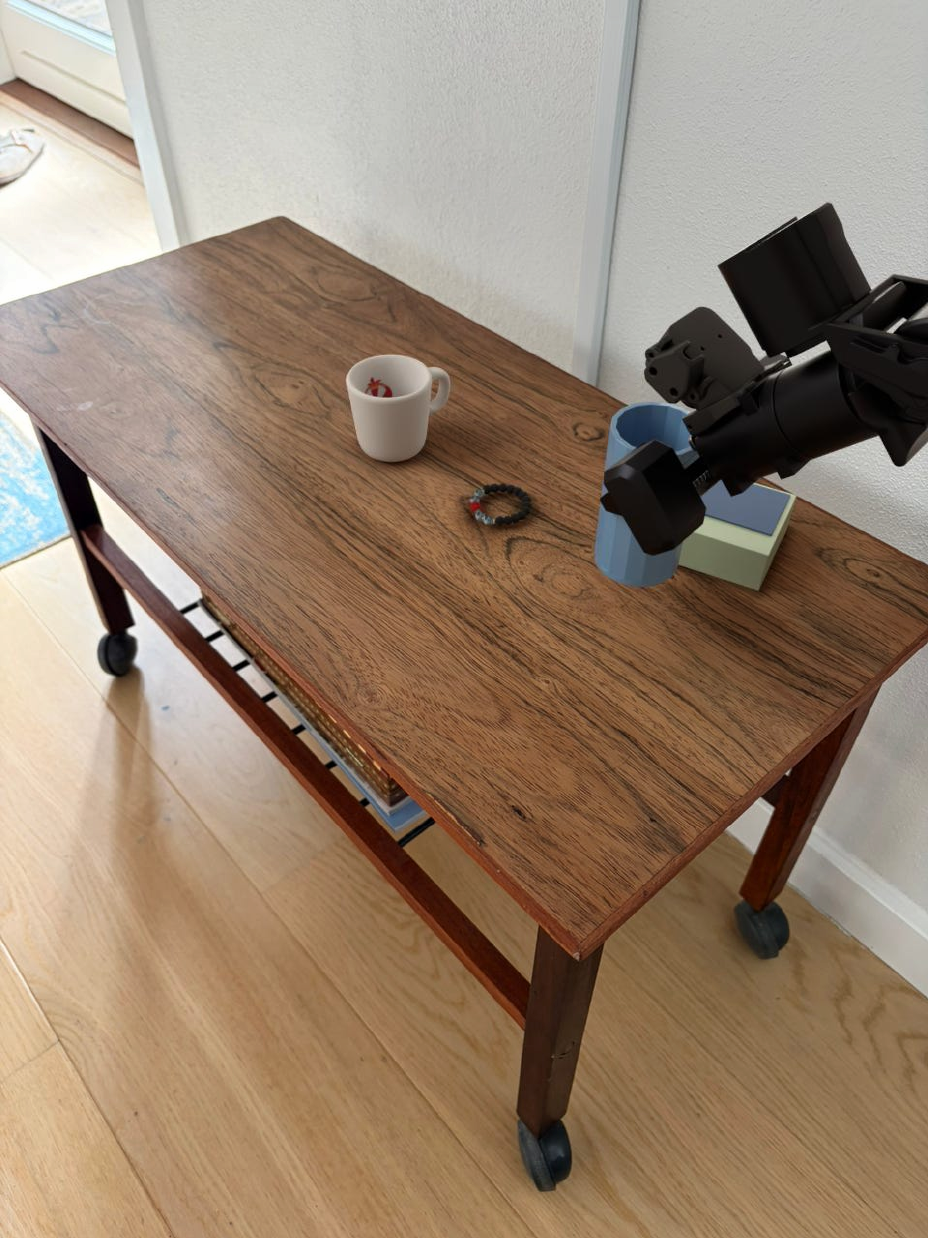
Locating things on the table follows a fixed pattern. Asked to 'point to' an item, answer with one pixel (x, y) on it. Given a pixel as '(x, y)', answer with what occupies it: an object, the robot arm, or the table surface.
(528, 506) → the bracelet
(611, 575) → the blue hollow cylinder
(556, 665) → the table surface
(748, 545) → the box
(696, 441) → the robot arm
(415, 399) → the cup
